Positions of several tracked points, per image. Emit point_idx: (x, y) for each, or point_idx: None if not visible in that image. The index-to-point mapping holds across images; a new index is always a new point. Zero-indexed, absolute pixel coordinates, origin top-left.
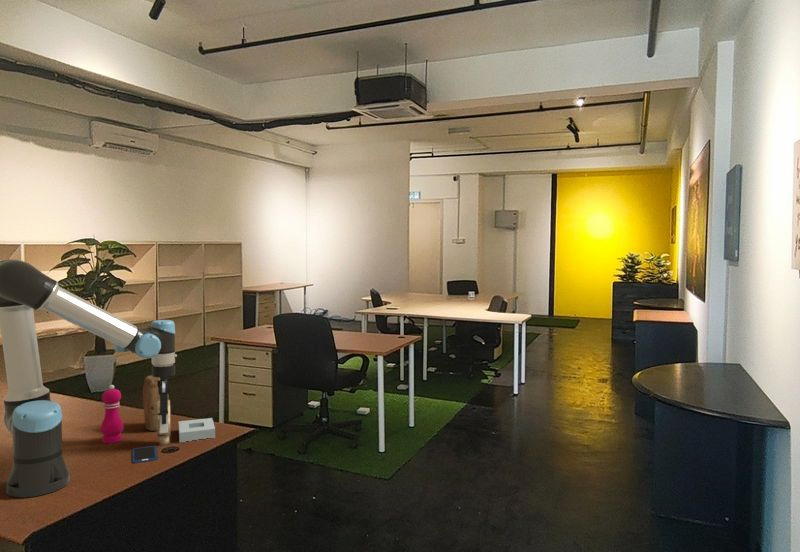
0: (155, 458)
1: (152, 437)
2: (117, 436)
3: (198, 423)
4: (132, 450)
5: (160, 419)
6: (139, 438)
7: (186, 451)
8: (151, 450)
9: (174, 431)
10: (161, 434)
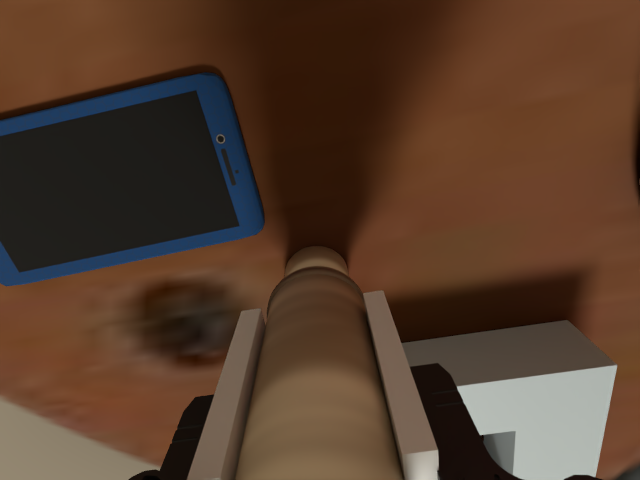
0: (3, 277)
1: (483, 172)
2: None
3: (509, 471)
4: (169, 80)
5: (209, 423)
6: (497, 68)
7: (153, 403)
8: (158, 225)
9: (562, 297)
10: (270, 308)
